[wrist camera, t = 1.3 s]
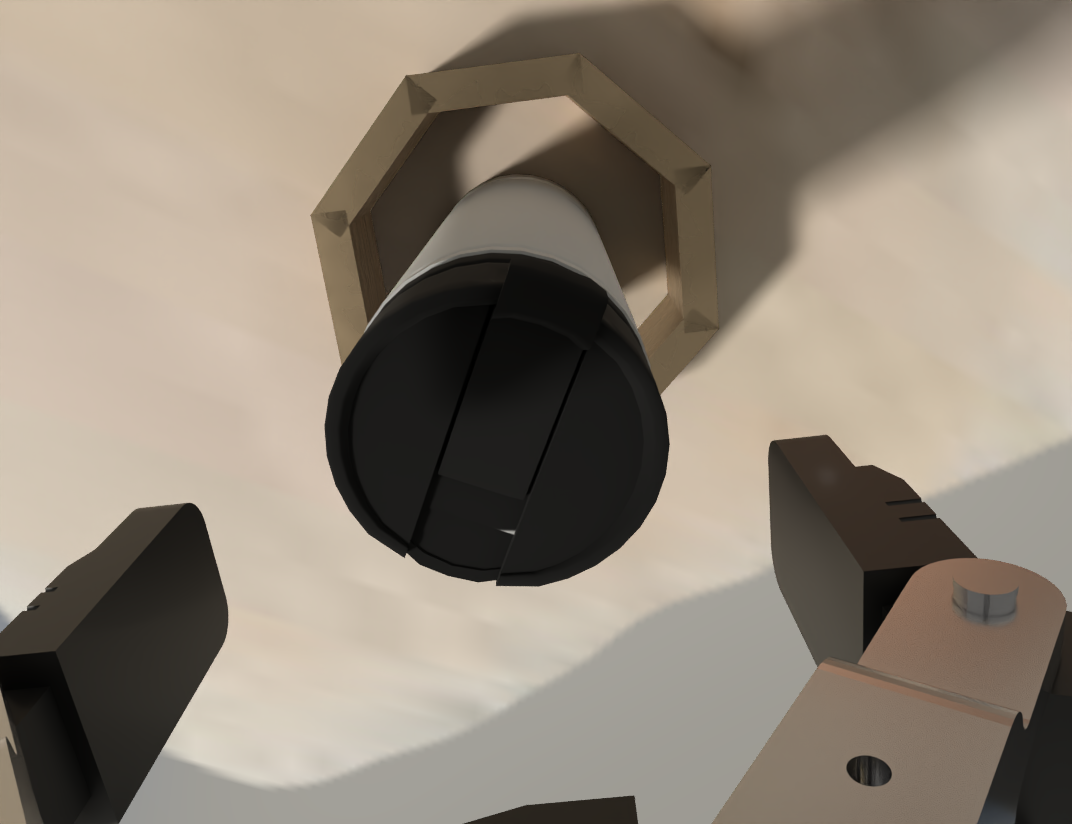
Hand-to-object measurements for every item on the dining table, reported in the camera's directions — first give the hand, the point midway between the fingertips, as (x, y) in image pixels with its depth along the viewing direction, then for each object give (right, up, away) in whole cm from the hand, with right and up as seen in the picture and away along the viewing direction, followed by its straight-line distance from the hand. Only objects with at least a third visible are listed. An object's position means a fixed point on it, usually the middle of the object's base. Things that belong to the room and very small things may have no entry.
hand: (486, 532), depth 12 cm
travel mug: (0, +8, +22) cm, 23 cm away
